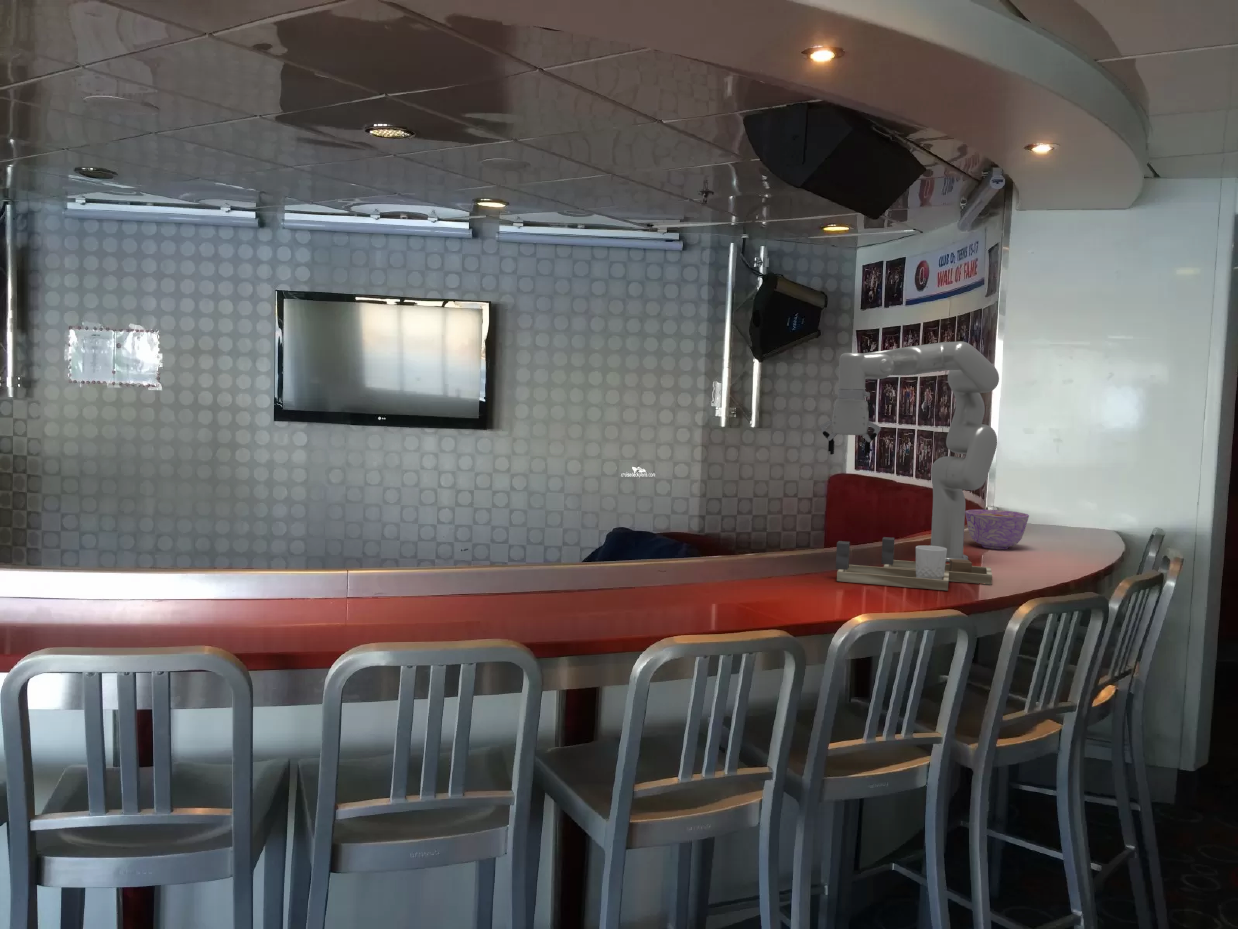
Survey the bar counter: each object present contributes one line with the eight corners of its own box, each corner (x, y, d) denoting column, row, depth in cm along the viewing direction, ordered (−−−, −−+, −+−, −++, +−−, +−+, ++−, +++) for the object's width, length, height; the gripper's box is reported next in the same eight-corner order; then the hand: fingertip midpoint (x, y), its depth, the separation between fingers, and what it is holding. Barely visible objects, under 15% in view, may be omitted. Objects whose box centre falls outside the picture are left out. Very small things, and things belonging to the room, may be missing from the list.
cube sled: (883, 567, 281) (884, 535, 280) (990, 576, 271) (992, 542, 271) (879, 575, 269) (881, 541, 268) (991, 584, 259) (993, 549, 258)
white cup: (941, 583, 261) (943, 546, 260) (948, 589, 253) (950, 550, 252) (911, 581, 262) (913, 544, 261) (916, 587, 254) (918, 549, 253)
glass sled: (839, 572, 271) (840, 538, 271) (948, 581, 262) (950, 546, 261) (833, 580, 259) (834, 545, 258) (947, 590, 249) (949, 553, 249)
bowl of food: (954, 546, 325) (955, 512, 324) (976, 540, 340) (977, 508, 340) (1015, 554, 312) (1017, 518, 311) (1035, 547, 327) (1037, 513, 327)
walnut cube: (948, 576, 271) (949, 559, 270) (967, 577, 270) (968, 560, 270) (951, 580, 266) (952, 562, 265) (971, 581, 265) (972, 563, 265)
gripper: (883, 396, 282) (880, 455, 283) (822, 395, 288) (820, 453, 289) (881, 396, 275) (878, 457, 276) (819, 395, 281) (816, 454, 282)
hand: (848, 454), depth 283 cm, fingers open, 9 cm apart
